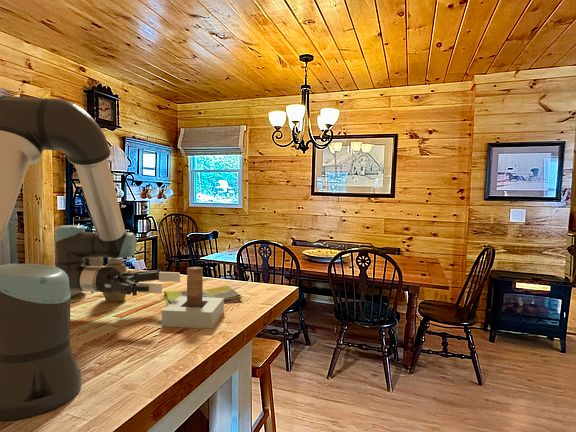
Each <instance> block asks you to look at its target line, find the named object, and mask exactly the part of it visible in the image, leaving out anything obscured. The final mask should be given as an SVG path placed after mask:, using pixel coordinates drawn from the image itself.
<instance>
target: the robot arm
mask: <svg viewBox="0 0 576 432" xmlns="http://www.w3.org/2000/svg"><path fill="white" fill-rule="evenodd" d="M44 151H62V152H64V153H65V155H66V158H67V160H68V162H69V163H71V164H72V165H74V167H75V168H74V169H76V170H75V171H76V173H77V177H78V180H79V183H80V186H81V188H82V193H83V195H84V198H85V201H86V204H87V207H88V211H89V213H90V216H91V219H92V223H93V225H94V228H95V231H86V230H85V227H84V225H82V224H81V225H80V224H79V225H78V224H69V225H64V224H63V225H59V226H57V227H56V229H55V234H54V236H55V237H54V249H55V252H54V253H55V264H53V265H49V264H42V263H41V264H40V263H32V262H31V263H7V264H0V421H13V420H20V419H21V420H22V419H26V418H30V417H34V416H38V415H41V414H45V413H46V412H49V411H52V410H55V409H56V408H57V409H58V407H61V406H62V405H64V404H66V403H68V402H70V401H71V400H72V399H73V398H75V396H76V395H77V394H79V392H80V390H81V389H82V373H81V369H80V368H79V366H78V362H77V361H76V358H75V354H74V352H73V350H72V348H71V292H70V291H82V292H90V294H94V293H99V292H100V293H103V292H107V293H112V292H114V291H115V292H119V293H123V294H126V296H127V295H129V296H130V295H132V296H134V297H136V296H137V295H138V294H139V293H141V294H162V293H163V283H162V282H176V283H179V282H181V273H180V272H177V271H176V272H175V271H173V272H171V271H162V270H161V268H158V269H156V270H155V269H153V270H137V271H132V270H129V271H126V272H124V273H122V274H120V272H119V270H118V269H117V268H116V267H105V266H103V267H102V266H84V262H85V257H103V258H107V259H108V258H123V259H124V258H131V257H133V256H135V254H136V250H137V245H138V244H137V242H138V241H137V237H136V234H135V233H134V232H129V231H126V228H125V224H124V220H123V217H122V216H123V215H122V212H121V209H120V204H119V200H118V196H117V192H116V187H115V184H114V180H113V176H112V172H111V166H110V163H109V160H108V159H109V158H110V157H111V149H110V145H109V142H108V140H107V137H106V135H105V133H104V131H103V130H102V128H101V126H99V123H97V121H96V120H95V119H94V118H93V117H92V116H91V115H90V114H89V113H88V112H87V111H86V110H84V108H82V107H80V106H79V105H77V104H75V103H74V102H71V101H68V100H66V99H62V98H46V97H45V98H42V97H32V96H31V97H29V96H17V95H16V96H13V95H9V94H8V95H7V94H5V95H0V245H1V243H2V240H3V237H4V235H5V233H6V230H7V227H8V224H9V222H10V219H11V216H12V214H13V210H14V208H15V205H16V202H17V199H18V197H19V194H20V191H21V188H22V185H23V183H24V180H25V177H26V175H27V172H28V170H29V166H32V165H35V164H37V163H38V162H39V161H40V160H41V157H42V155H43V152H44ZM157 280H158V282H151V281H157Z"/></svg>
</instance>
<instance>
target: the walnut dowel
mask: <svg viewBox="0 0 576 432" xmlns="http://www.w3.org/2000/svg"><path fill="white" fill-rule="evenodd" d="M203 268H204V267H200V266H191V267H187V268H186V270H187V271H186V276H187V277H186V284H187V285H186V291H187V307H197V308H202V291H203V290H204V289H203V288H204V287H203V286H204V285H203V278H204V277H203V275H204V274H203V271H204V269H203Z"/></svg>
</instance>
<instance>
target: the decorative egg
mask: <svg viewBox="0 0 576 432" xmlns="http://www.w3.org/2000/svg"><path fill="white" fill-rule="evenodd" d="M84 266H102V267H104V257H85V262H84Z"/></svg>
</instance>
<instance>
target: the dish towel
mask: <svg viewBox="0 0 576 432" xmlns="http://www.w3.org/2000/svg"><path fill="white" fill-rule="evenodd" d="M163 295H164V299H165V303H166V305H167V306H168V305H169V304H171V303H172V302H173V301H174V300H176V299H177V298H178V297H179V296H185V297H187V290H178V291H175V290H172V291H171V290H164V292H163ZM202 297H210V298H224V305H225V304H226V305H227V304H233V303H239V300H242V298H243V295H241V294H239V293H238V292H237V291H236V290H234V289H233V288H232V287H230V286H228V285H225V286H219V287H215V288H214V287H213V288H209V289H208V288H206V289H203V291H202Z"/></svg>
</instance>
